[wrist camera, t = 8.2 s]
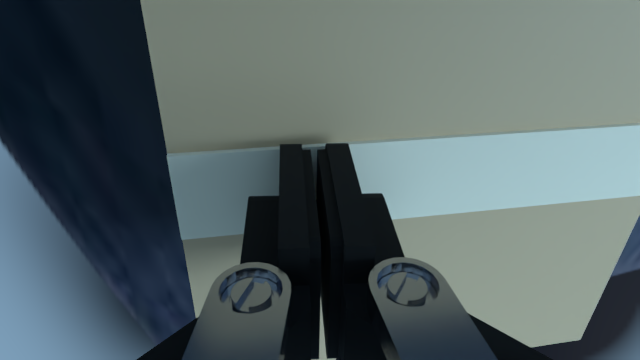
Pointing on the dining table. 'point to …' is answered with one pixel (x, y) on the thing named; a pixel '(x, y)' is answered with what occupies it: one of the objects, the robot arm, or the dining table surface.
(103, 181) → the dining table surface
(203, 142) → the lid
